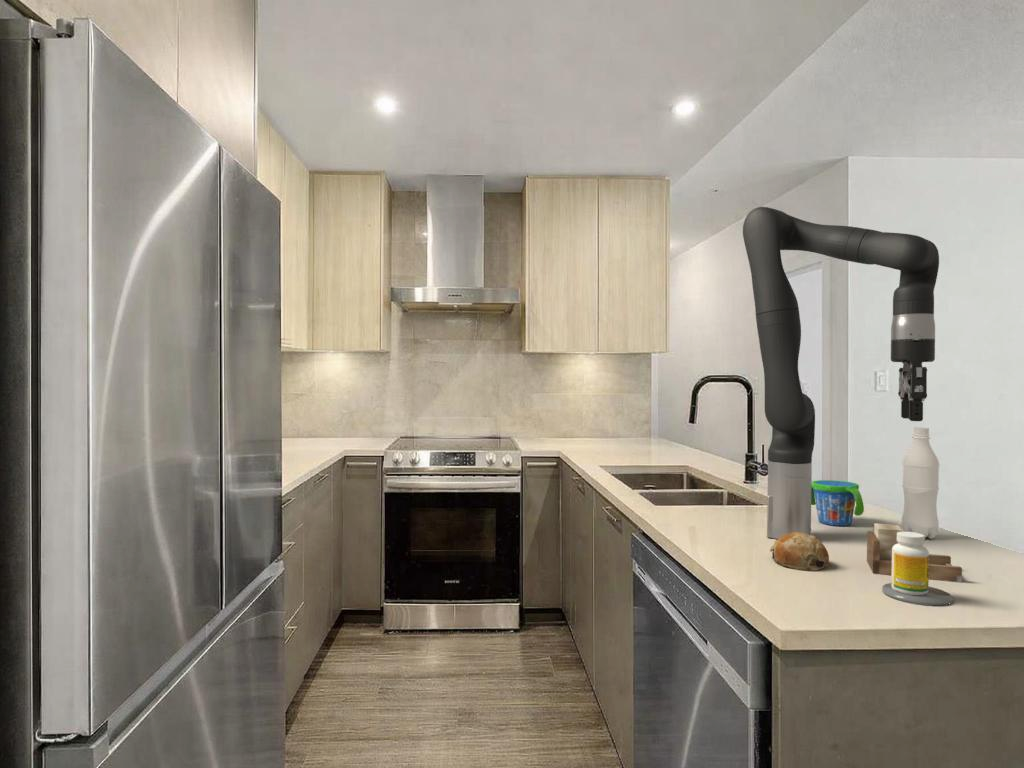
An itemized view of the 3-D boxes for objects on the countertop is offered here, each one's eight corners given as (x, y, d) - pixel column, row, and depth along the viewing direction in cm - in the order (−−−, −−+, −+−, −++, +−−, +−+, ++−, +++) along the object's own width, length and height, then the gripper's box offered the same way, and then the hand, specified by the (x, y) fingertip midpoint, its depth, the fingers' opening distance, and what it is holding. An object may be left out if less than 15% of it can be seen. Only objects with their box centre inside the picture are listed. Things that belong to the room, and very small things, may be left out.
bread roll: (794, 590, 125) (810, 556, 122) (755, 555, 133) (769, 522, 130) (829, 583, 130) (845, 550, 127) (789, 549, 138) (804, 518, 135)
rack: (873, 573, 124) (873, 530, 124) (866, 560, 132) (867, 520, 132) (961, 582, 119) (962, 537, 119) (949, 568, 127) (949, 527, 127)
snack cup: (796, 517, 173) (796, 478, 173) (831, 516, 175) (831, 477, 175) (837, 531, 158) (838, 488, 157) (876, 529, 160) (876, 487, 160)
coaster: (887, 601, 108) (887, 597, 108) (878, 583, 118) (878, 580, 118) (959, 609, 105) (959, 605, 105) (944, 590, 114) (944, 586, 114)
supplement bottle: (886, 585, 115) (887, 529, 115) (920, 587, 114) (921, 531, 114) (898, 595, 110) (899, 537, 109) (934, 597, 109) (935, 538, 108)
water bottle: (943, 541, 148) (945, 429, 148) (908, 539, 150) (910, 428, 150) (930, 534, 156) (932, 427, 155) (896, 532, 157) (898, 426, 157)
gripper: (885, 340, 140) (884, 417, 140) (897, 336, 127) (896, 421, 127) (926, 339, 137) (925, 418, 137) (943, 335, 124) (942, 422, 124)
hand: (911, 419), depth 132 cm, fingers open, 8 cm apart
